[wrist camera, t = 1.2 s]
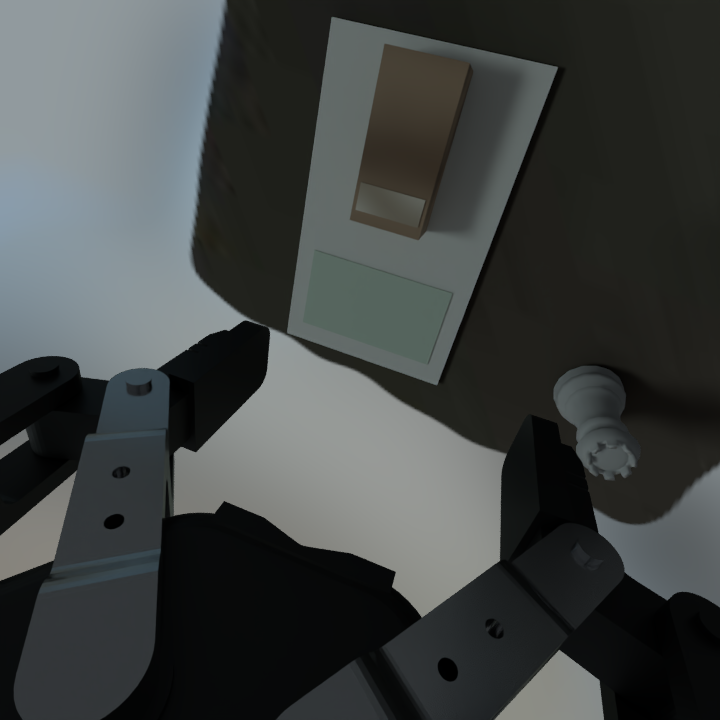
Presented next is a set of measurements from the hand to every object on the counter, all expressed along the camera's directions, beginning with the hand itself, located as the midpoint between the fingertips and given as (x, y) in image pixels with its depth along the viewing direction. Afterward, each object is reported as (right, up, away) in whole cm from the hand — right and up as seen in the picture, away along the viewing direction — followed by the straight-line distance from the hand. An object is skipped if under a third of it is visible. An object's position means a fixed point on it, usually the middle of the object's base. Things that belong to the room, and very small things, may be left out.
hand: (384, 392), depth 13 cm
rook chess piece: (+16, -1, +18) cm, 23 cm away
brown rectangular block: (+3, +14, +13) cm, 20 cm away
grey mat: (+2, +10, +16) cm, 19 cm away
